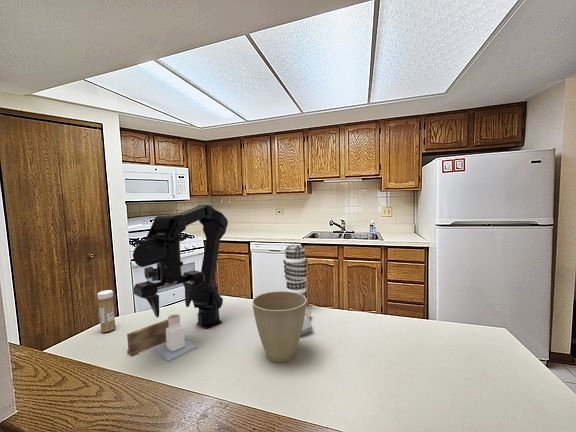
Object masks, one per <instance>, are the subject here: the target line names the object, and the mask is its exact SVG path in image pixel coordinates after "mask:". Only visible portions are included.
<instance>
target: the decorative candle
mask: <svg viewBox="0 0 576 432" xmlns="http://www.w3.org/2000/svg"><path fill="white" fill-rule="evenodd" d="M305 251H306V249H305V248H304V247H303V245H300V244H290V245H287V247H286V248H285V249H284V252H285V257H284V259H283V264H284V265H283V268H284V273H285V274H284V278H285V279H284V281H285V282H286V287H285V291H287V292H295V293H299V294H301V295H303V296H304V297H305V298H306V300H307V302H306V309H308V299H307V298H308V291H307V284H306V281H308V280H307V276H308V274H307V272H308V270H307V269H306V268H307V267H308V264H307V263H308V260H306V252H305Z"/></svg>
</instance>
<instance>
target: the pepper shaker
mask: <svg viewBox="0 0 576 432" xmlns="http://www.w3.org/2000/svg"><path fill="white" fill-rule="evenodd" d="M167 319H168V324H169V327H167V328H166V341H165V342H166V343H165V344H167V348H168V349H169V350H171V351H172V352H174V351H176V350H179V349H181V348H183V347H184V346H185V342H184V339H185V330H184V329H185V328H184V326H183V325H182V324H181V316H180V314H171V315H169V316H167Z"/></svg>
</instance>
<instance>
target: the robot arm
mask: <svg viewBox="0 0 576 432" xmlns="http://www.w3.org/2000/svg"><path fill="white" fill-rule="evenodd" d="M197 221H199V223H200V224H201V225H202V231H203V234H204V237H205V243H204V250H203V255H202V256H203V257H202V264H201V269H200V271H198V270H194V269H193V270H190V271H185V272H183V274H182V266H184V261H182V259H181V242H184V241H185V238H184V237H183V236H181V234H182V233H183V232H184V231H185V230H186V228H187V227H188V226H189V225H191V224H193V223H196V222H197ZM228 223H229V221H228V219H227V217H226V215H224V214H223V213H222V212H220V211H219V210H216V209H215V208H214V207H213V206H212V205H210V204H198V205H196V206H195V207H191V208H189V209H187V210H184V211H182V212H178V213H175V214H164V215H163V214H162V215H157V216H155V217H154V221H153V223H152V225H151V226H150V228H149V231H148V233H147V235H146V237H145V239H140V240H138V245H137V246H136V247H135V248H134V249H133V252H132V259H133V262H134V263H135V265H136V266H138V267H141V268H144V269H143V270H144V272H143V273H144V277H145V279H146V280H147V279H151V281H150V280H147V281H143V282H140V283H138V282H137V283H135V285H134V286H133V295H135V296H136V297H139V298H142V299H144V300H146V301H147V302H148V305H150V308H151V310H152V312H153V314H154V317H156V318H159V317H160V295H159V294H158V290H161V289H165V288H169V287H172V286H177V285H179V284H182V285H183V287H184V303H185V307H186V308H188V307H190V305H191V303H192V304H193V306H194V308H195V309H198V312H197V322H196V325H198V326H200V327H201V328H204V329H207V330H208V329H210V328H213V327H215V326H217V325H219V324H222V323H223V320H221V319H220V309H221V308H222V306H223V301H224V298H223V297H222V296H221V295H220V294H219V287H218V284H217V282H216V279H215V278H216V277H215V276H216V271H217V263H218V257H219V250H220V249H219V248H220V244H221V243H220V242H221V239H222V238H223V236H224V235H225V234H226V232H227V227H228V225H229V224H228ZM155 264H156V268H154V267H153V266H151V265H155ZM155 281H157V282H155Z"/></svg>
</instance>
